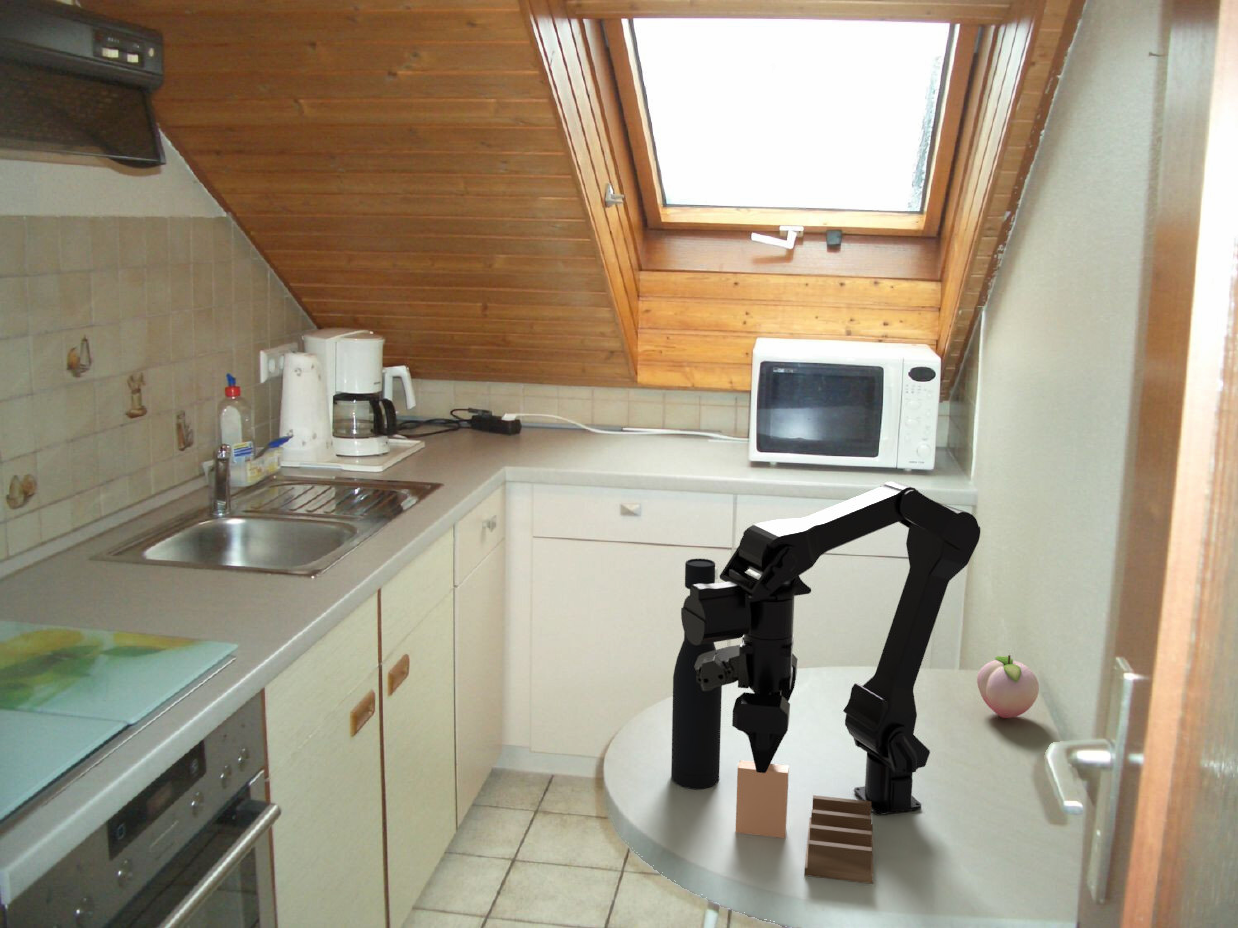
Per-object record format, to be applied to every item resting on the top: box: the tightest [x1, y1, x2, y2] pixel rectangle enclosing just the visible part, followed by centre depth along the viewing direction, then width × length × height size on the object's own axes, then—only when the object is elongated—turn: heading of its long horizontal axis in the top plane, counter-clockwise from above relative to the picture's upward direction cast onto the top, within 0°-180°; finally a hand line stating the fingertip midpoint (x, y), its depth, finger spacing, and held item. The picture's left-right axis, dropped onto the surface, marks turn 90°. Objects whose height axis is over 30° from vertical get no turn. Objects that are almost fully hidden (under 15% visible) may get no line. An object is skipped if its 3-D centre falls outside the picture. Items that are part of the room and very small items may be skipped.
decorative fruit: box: [976, 654, 1040, 719], centre depth 171 cm, size 9×8×10 cm
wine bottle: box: [670, 558, 723, 790], centre depth 149 cm, size 6×6×30 cm
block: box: [735, 760, 790, 839], centre depth 138 cm, size 2×6×8 cm, turn 78°
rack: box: [803, 794, 874, 884], centre depth 134 cm, size 12×8×4 cm, turn 168°
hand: (764, 754), depth 137 cm, fingers open, 9 cm apart
